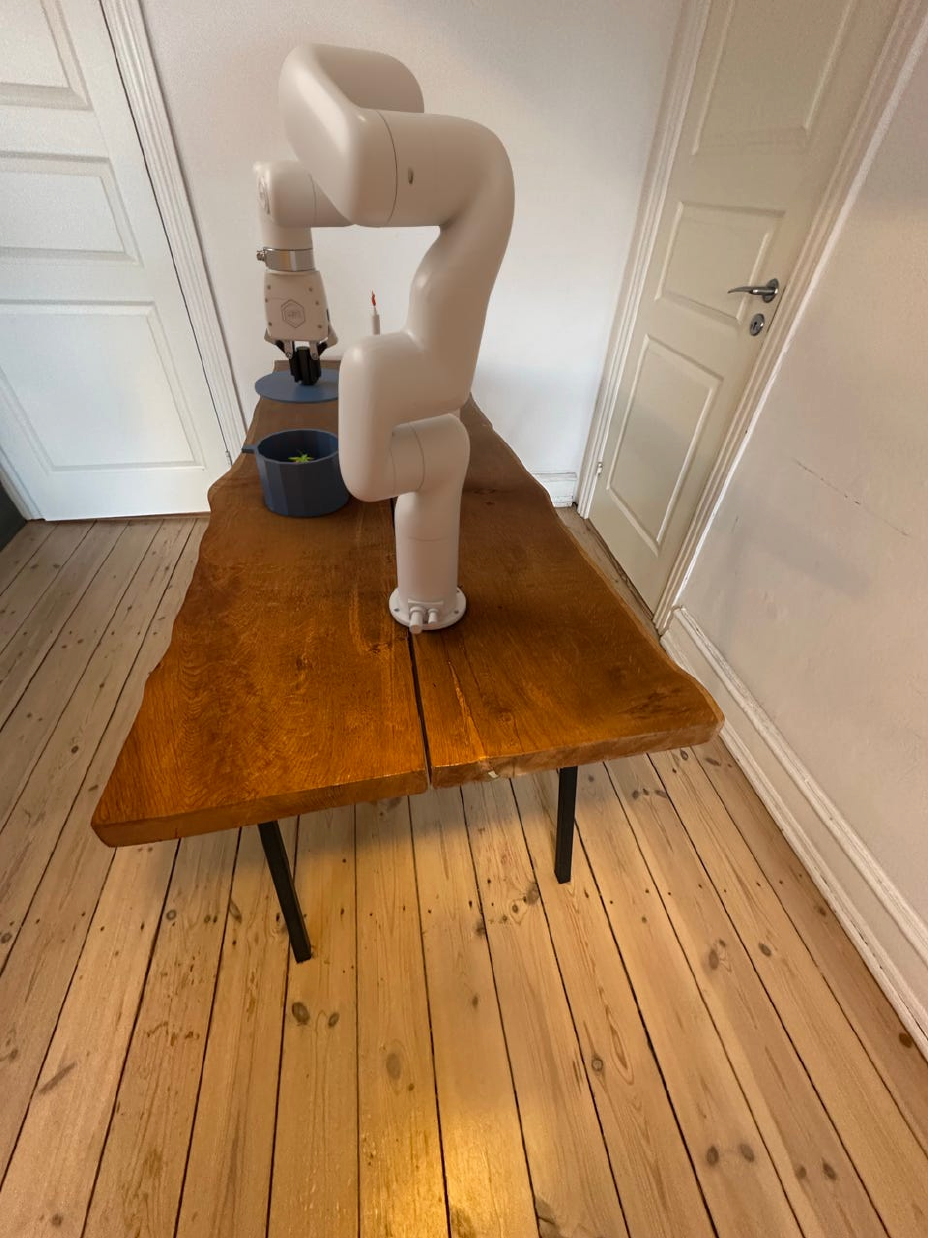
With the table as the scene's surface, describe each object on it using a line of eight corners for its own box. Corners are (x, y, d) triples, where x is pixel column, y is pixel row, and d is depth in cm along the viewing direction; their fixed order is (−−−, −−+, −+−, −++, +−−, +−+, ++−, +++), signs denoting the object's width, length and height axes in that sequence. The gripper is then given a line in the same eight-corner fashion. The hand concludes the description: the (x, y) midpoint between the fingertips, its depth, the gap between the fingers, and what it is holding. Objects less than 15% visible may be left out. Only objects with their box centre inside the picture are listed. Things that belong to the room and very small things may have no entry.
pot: (354, 519, 111) (349, 466, 104) (241, 515, 111) (227, 461, 103) (367, 480, 125) (363, 430, 117) (265, 476, 124) (255, 426, 117)
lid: (350, 409, 94) (346, 366, 89) (241, 404, 93) (231, 360, 89) (366, 376, 108) (364, 336, 103) (272, 371, 108) (265, 331, 103)
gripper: (232, 261, 85) (256, 385, 97) (336, 267, 85) (348, 389, 97) (247, 254, 90) (268, 372, 102) (345, 259, 91) (355, 376, 103)
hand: (307, 379), depth 99 cm, fingers closed on lid, 2 cm apart
